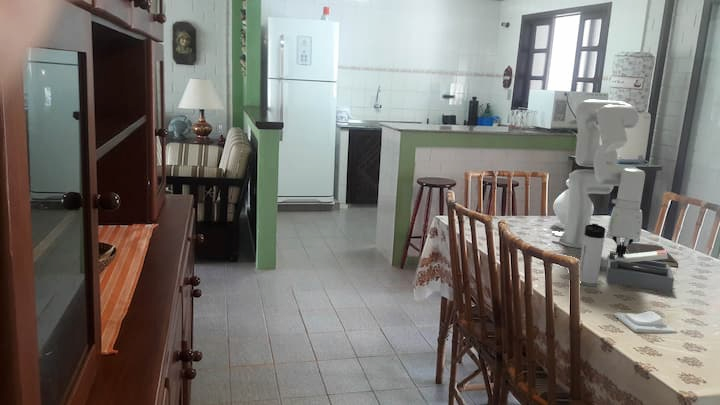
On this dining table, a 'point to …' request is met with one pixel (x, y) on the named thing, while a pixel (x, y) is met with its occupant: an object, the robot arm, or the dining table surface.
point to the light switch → (645, 322)
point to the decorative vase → (563, 207)
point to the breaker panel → (640, 273)
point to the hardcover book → (642, 248)
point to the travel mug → (591, 254)
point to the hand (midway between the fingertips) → (620, 255)
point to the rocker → (642, 256)
